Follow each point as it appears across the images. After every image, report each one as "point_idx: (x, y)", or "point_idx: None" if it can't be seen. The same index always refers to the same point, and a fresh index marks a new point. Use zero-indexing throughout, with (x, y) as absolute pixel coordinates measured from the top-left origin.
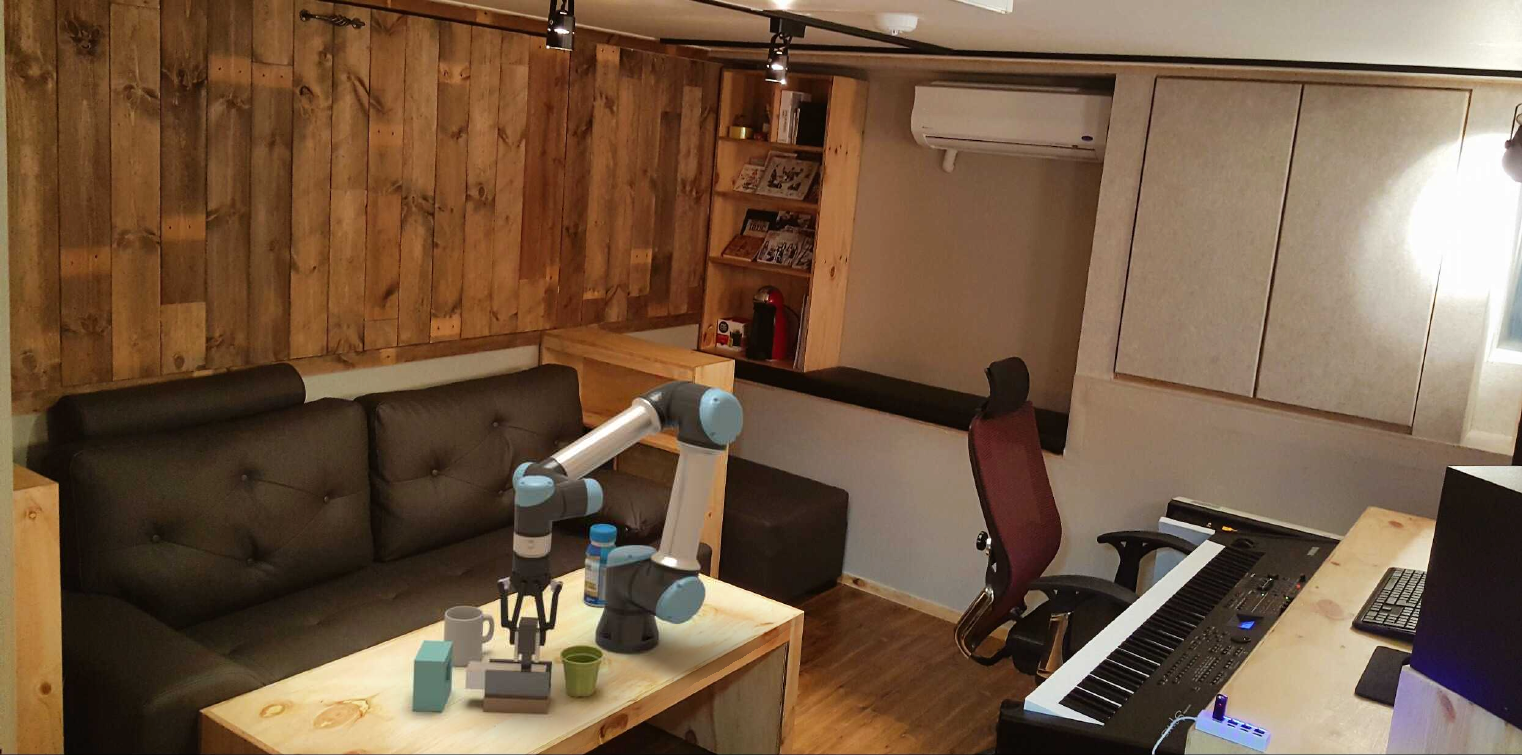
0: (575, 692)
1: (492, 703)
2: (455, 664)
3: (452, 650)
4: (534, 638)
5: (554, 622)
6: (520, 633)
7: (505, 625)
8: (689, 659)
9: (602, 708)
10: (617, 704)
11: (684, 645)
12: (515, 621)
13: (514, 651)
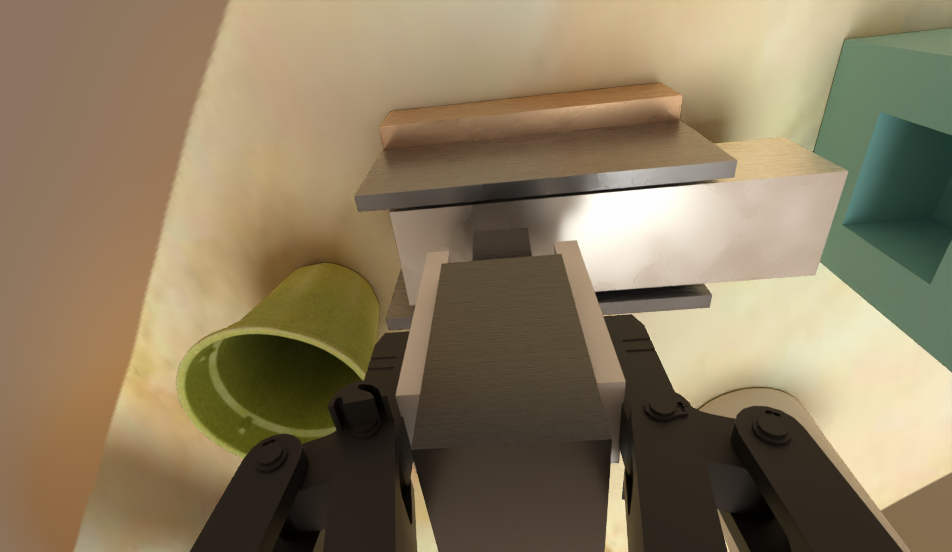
0: (325, 269)
1: (630, 94)
2: (770, 391)
3: (921, 335)
4: (437, 342)
5: (221, 508)
6: (569, 360)
7: (751, 427)
8: (124, 500)
9: (204, 198)
10: (169, 237)
11: (176, 548)
12: (659, 478)
13: (587, 275)
